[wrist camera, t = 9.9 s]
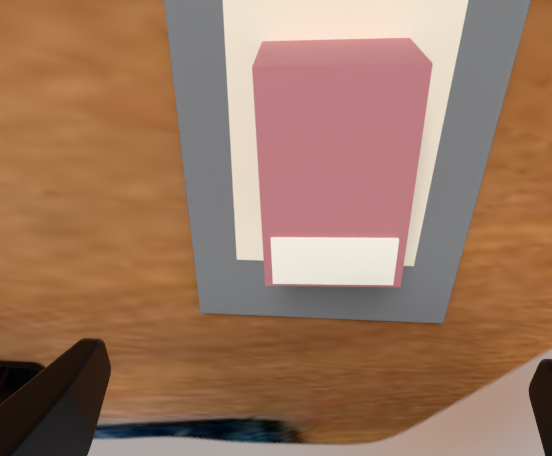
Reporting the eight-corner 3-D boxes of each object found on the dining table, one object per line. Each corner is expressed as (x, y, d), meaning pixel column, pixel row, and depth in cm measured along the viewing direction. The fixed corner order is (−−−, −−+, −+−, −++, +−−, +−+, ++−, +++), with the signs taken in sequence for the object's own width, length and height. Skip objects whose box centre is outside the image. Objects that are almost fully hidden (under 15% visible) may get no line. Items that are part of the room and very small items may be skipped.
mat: (440, 316, 23) (443, 324, 23) (202, 306, 24) (200, 314, 23) (562, -144, 13) (571, -147, 13) (152, -142, 14) (145, -144, 13)
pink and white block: (409, 37, 16) (433, 64, 13) (386, 234, 20) (400, 289, 17) (262, 41, 16) (251, 68, 13) (271, 234, 20) (264, 288, 17)
